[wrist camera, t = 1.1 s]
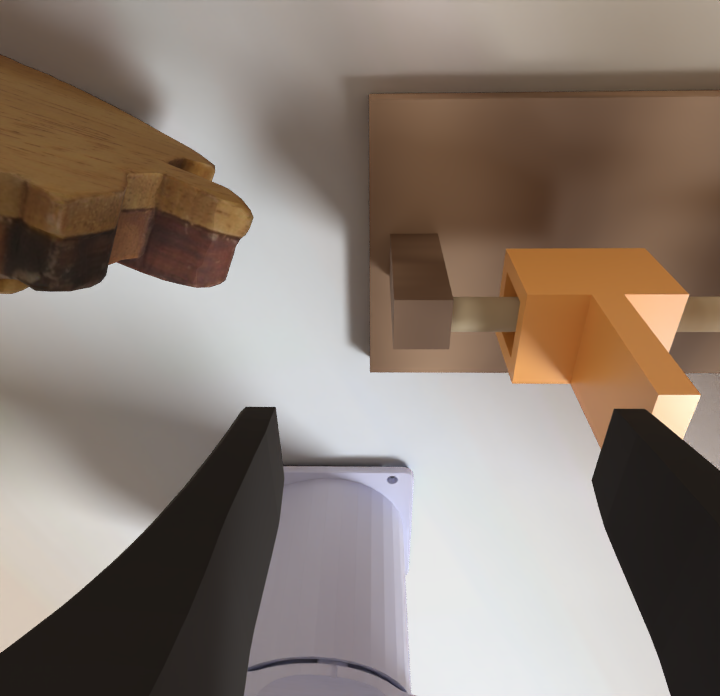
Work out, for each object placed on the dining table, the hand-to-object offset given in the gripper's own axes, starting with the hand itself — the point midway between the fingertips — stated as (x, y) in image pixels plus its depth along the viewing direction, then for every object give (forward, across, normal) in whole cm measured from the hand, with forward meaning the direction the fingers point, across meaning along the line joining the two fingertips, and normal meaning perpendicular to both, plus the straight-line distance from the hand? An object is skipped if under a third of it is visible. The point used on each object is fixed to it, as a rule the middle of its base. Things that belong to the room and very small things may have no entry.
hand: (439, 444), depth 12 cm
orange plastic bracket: (+7, -4, 0) cm, 8 cm away
